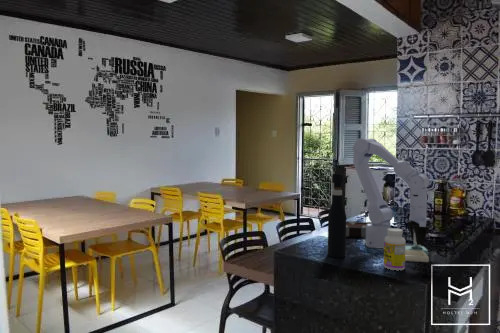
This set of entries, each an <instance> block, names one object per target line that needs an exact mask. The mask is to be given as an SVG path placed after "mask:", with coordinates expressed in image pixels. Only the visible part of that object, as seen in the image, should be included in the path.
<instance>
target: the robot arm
mask: <svg viewBox="0 0 500 333" xmlns="http://www.w3.org/2000/svg"><path fill="white" fill-rule="evenodd" d="M351 148H352V151H353V159H352V162H353V166H354V168H355V171H356V174H357V175H358V178H359V180H360V184H361V186H362V189H363V191H364V194H365V196H366V199H367V202H368V206H367V210H368V219H369V222H372V223H371V224H366V238H365V240H364V241H365V242H364V243H365V245H366V247H367V248H370V249H371V248H372V249H373V248H375V249H384V239H385V237H386V236H388V233H387V230H388V229H389V228H391V220H393V218H394V211H393V210H392V208H391V207H389V205H388V202H387V201H385V200H384V199H383V197H382V195H381V192H380V190H379V188H378V185H377V182H376V181H375V178H374V175H373V173H372V170H371V169H370V166H369V161H370V160H371V157H373V156H375V155H376V156H378V157H379V158H381V159H382V160H384V161H385V162H386V163H387V164H389V165H390V166H391V167H393V172H394V173H395V174H396V175H397V176H399V177H400V178H401V179H402V180H403V181H405V182H406V183H407V186H408V188H409V189H410V194H409V217H408V220H407V221H406V222H407V226H408V228H409V231H410V236H411V240H412V241H414V232H413V229H414V231H415V236H416V243H417V245H421V246H424V244H425V240H426V237H427V234H428V232H429V231H430V226H427V222H428V221H431V218H430V217H427V206H428V205H427V204H428V203H427V202H428V199H427V196H428V194H427V190H428V188H427V187H428V186H429V185H430V178H429V177H428V176H427V175H426V174H425V173H421V172H420V170H419V169H416V168H415V167H413V166H412V165H411V162H410V161H407V160H399V159H398V158H397V157H396V156H395V155H393V153H392V152H390V151H389V150H388V149H387V148H386V147H384V145H382V143H381V142H379V141H377V140H376V139H375V138H363V137H361V138H357V139H356V140H355V142H354V144H353V146H352V147H351Z"/></svg>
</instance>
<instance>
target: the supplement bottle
mask: <svg viewBox="0 0 500 333" xmlns="http://www.w3.org/2000/svg"><path fill="white" fill-rule="evenodd" d="M403 230H404V229H401V228H397V227H396V228H393V227H390V228H389V229H388V230H387V233H388V236H386V237H385V239H384V248H383V267H384V268H385V269H386V268H387V270H389V269H390V271H394V270H396V272H397V271H398V272H399V270H400V271H403V270H404V269H405V268H406V261H405V246H407V244H406V242H407V241H406V239H405V238H404V237H403V233H404V231H403Z"/></svg>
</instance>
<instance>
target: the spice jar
mask: <svg viewBox="0 0 500 333" xmlns="http://www.w3.org/2000/svg"><path fill="white" fill-rule="evenodd" d="M413 232H414V240H413V245H412V246H413V249H420V250H421V246H422V245H417V243H416V236H415V231H414V229H413Z"/></svg>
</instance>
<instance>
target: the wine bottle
mask: <svg viewBox="0 0 500 333" xmlns="http://www.w3.org/2000/svg"><path fill="white" fill-rule="evenodd" d="M331 179H332V181H331V183H332V184H333V191H332V192H333V193H332V196H331V205H330V208H329V211H328V214H327V215H328V218H327V256H328V255H329V256H328V257H330V256H333V257H332V258H335V257H342V258H345V257H346V256H345V255H346V254H347V252H346V251H347V250H346V249H347V248H346V247H347V246H346V244H347V237H346V222H347V214H346V209H345V206H344V202H343V198H344V197H343V196H344V195H343V190H342V184H344V173H332V178H331ZM344 256H345V257H344Z"/></svg>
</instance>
